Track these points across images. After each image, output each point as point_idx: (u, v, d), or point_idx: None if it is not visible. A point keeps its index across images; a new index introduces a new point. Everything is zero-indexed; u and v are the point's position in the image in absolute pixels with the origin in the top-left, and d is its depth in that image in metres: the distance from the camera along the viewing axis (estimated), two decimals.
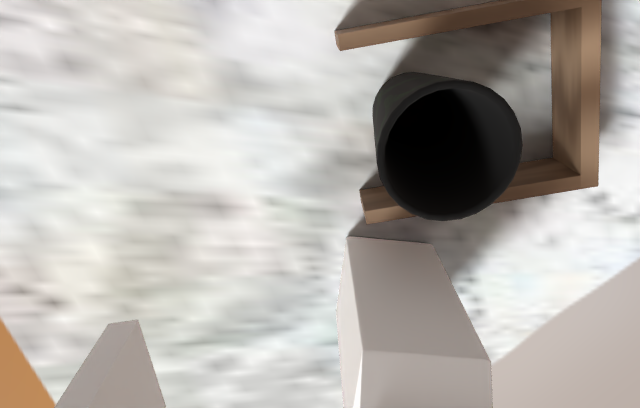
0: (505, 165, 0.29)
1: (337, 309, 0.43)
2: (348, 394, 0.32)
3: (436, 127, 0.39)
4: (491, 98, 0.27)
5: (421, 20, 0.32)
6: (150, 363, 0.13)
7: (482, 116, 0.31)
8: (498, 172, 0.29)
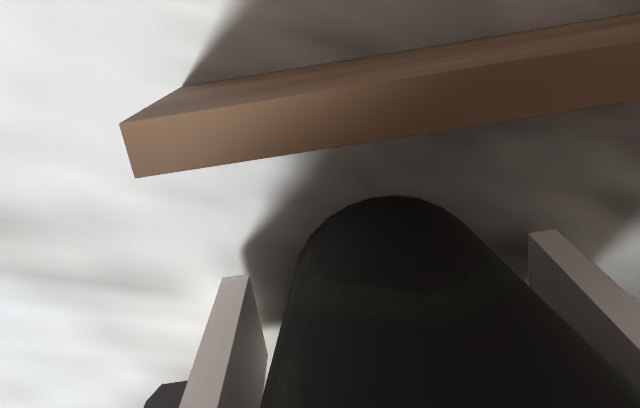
0: None
1: None
2: None
3: None
4: None
5: (421, 80, 0.09)
6: (256, 315, 0.15)
7: None
8: None
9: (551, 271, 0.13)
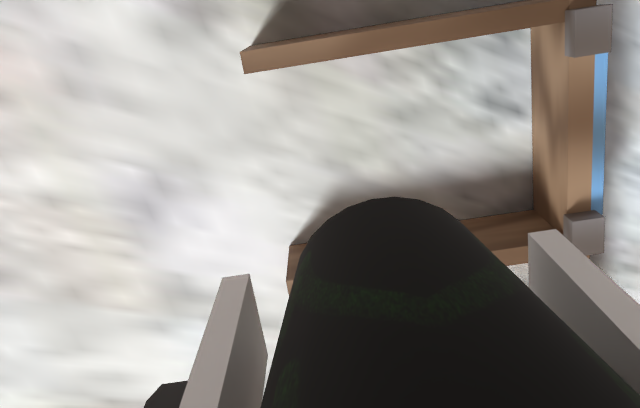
0: None
1: None
2: None
3: None
4: None
5: None
6: (257, 315, 0.15)
7: None
8: None
9: (551, 271, 0.13)
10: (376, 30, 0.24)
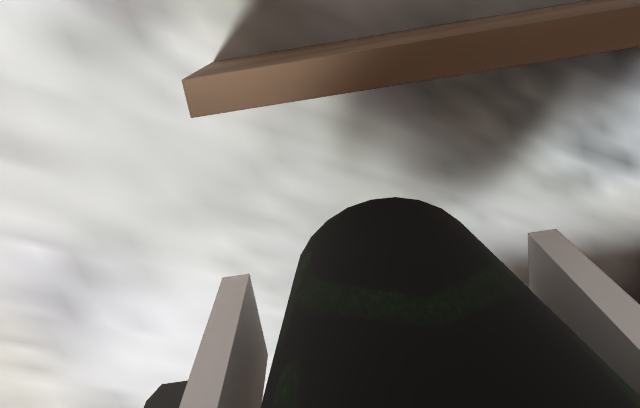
0: None
1: None
2: None
3: None
4: None
5: None
6: (257, 315, 0.15)
7: None
8: None
9: (551, 271, 0.13)
10: (425, 41, 0.13)
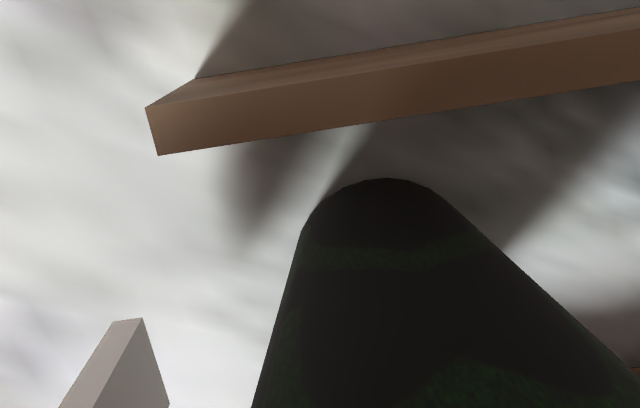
0: None
1: None
2: None
3: None
4: None
5: None
6: (154, 361, 0.14)
7: None
8: None
9: None
10: (461, 58, 0.10)
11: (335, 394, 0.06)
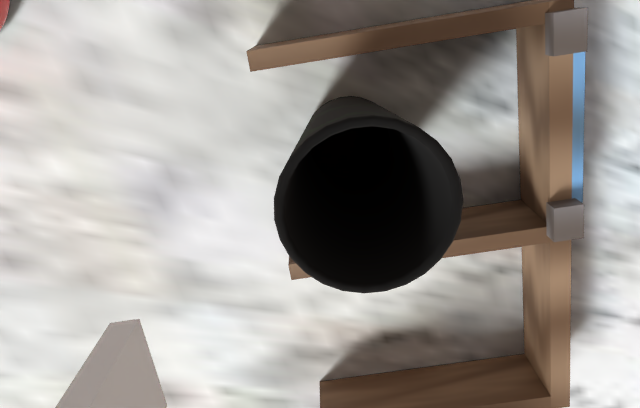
0: (443, 224, 0.22)
1: None
2: None
3: (379, 163, 0.32)
4: (420, 140, 0.20)
5: None
6: (151, 362, 0.14)
7: (421, 156, 0.25)
8: (435, 232, 0.23)
9: None
10: (372, 31, 0.26)
11: (320, 124, 0.22)
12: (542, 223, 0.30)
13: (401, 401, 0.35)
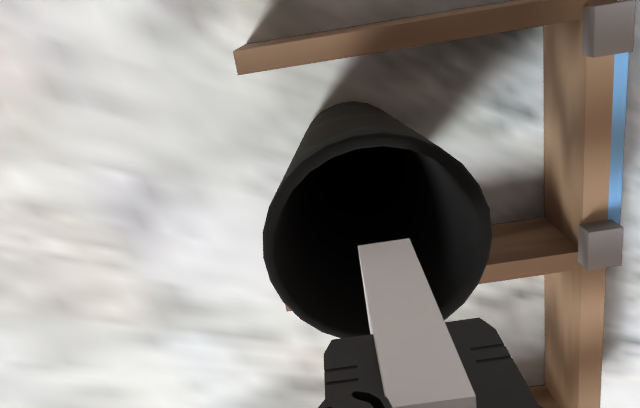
0: (466, 261, 0.18)
1: None
2: None
3: (386, 177, 0.29)
4: (442, 163, 0.17)
5: None
6: None
7: (438, 176, 0.21)
8: (457, 269, 0.19)
9: None
10: (380, 28, 0.22)
11: (318, 141, 0.18)
12: (573, 247, 0.26)
13: None
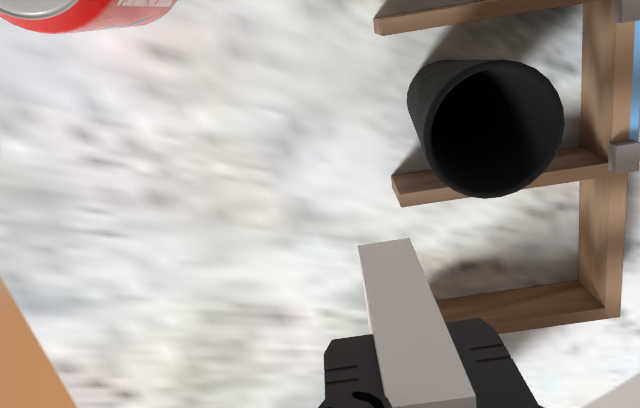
0: (546, 145, 0.30)
1: None
2: None
3: (468, 115, 0.40)
4: (536, 78, 0.28)
5: None
6: None
7: (521, 99, 0.32)
8: (538, 152, 0.30)
9: None
10: (479, 4, 0.33)
11: (453, 70, 0.30)
12: (604, 161, 0.38)
13: (479, 315, 0.43)
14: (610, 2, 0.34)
